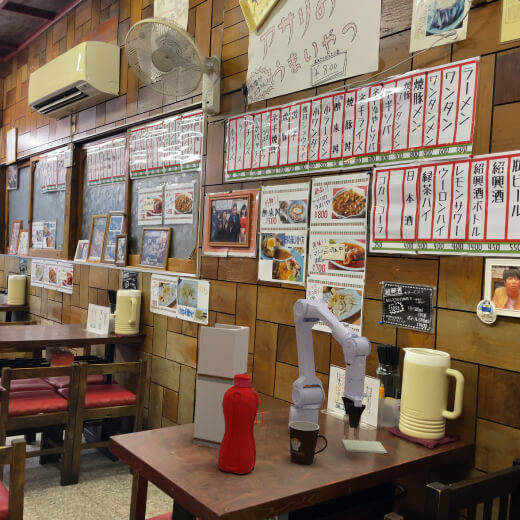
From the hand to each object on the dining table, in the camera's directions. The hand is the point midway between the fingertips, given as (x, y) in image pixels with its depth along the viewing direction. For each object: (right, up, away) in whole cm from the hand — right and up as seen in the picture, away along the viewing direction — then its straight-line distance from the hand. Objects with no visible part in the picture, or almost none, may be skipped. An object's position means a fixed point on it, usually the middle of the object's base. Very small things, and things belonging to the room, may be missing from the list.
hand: (351, 424), depth 159 cm
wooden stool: (0, -4, 0) cm, 4 cm away
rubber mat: (+5, -10, +9) cm, 14 cm away
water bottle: (-32, -8, -15) cm, 36 cm away
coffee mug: (-14, -9, -7) cm, 18 cm away
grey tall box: (-40, -7, +5) cm, 41 cm away
